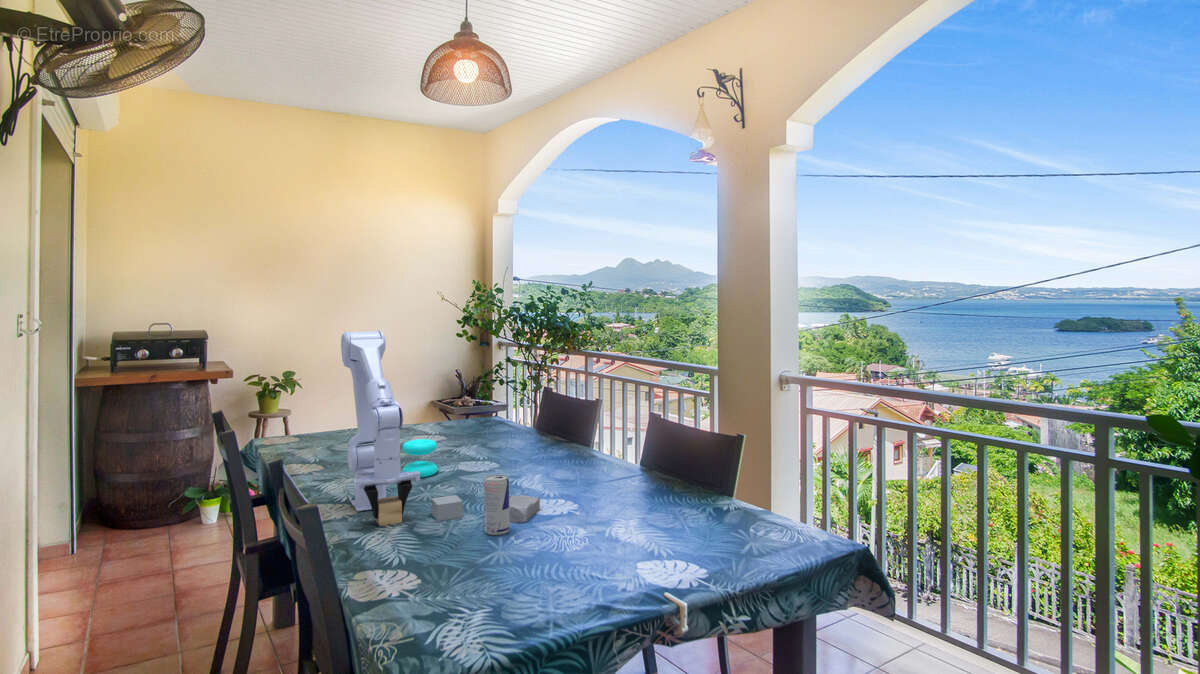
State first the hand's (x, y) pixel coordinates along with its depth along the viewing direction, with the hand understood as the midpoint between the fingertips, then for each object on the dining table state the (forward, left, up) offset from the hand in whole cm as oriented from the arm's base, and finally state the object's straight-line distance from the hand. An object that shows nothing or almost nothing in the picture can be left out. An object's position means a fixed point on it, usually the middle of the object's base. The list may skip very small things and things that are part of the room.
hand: (388, 515), depth 148 cm
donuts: (-40, +18, -2) cm, 44 cm away
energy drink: (+20, +19, -2) cm, 28 cm away
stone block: (+11, +27, -2) cm, 29 cm away
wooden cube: (0, 0, -1) cm, 1 cm away
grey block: (+3, +13, -2) cm, 13 cm away
